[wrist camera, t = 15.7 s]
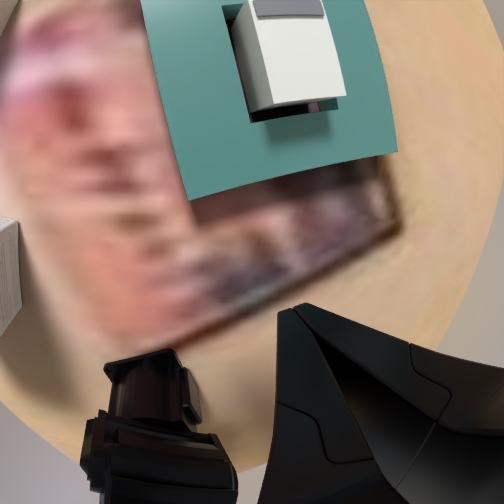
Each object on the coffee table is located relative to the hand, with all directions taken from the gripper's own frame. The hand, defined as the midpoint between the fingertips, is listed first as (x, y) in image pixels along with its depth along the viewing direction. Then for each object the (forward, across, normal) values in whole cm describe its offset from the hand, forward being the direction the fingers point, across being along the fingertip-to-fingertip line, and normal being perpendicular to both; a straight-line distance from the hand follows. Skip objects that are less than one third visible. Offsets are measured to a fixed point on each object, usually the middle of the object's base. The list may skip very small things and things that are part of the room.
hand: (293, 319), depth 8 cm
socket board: (+12, -5, -9) cm, 16 cm away
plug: (+12, -5, -9) cm, 16 cm away
